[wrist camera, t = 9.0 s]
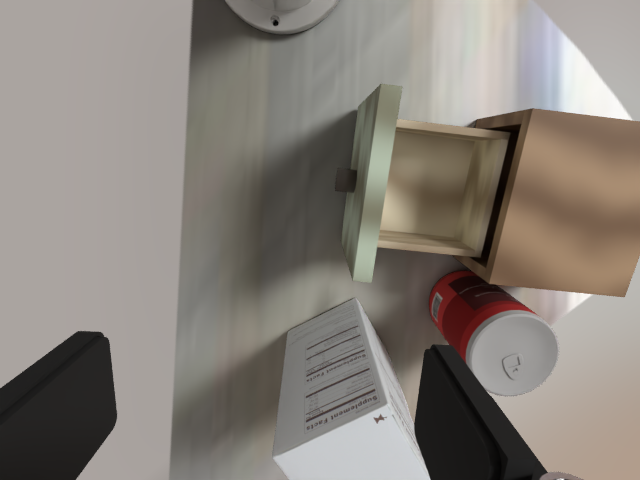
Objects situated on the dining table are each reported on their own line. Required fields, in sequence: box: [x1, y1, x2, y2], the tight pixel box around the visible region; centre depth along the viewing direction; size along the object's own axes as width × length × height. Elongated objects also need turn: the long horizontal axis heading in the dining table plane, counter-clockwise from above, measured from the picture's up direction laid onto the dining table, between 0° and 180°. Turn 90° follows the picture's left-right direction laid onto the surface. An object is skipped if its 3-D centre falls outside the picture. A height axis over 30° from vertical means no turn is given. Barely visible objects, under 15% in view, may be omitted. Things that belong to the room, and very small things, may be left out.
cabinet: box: [452, 108, 640, 297], centre depth 32 cm, size 14×12×9 cm
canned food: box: [429, 271, 559, 396], centre depth 34 cm, size 8×8×11 cm
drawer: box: [335, 84, 510, 283], centre depth 29 cm, size 14×14×12 cm
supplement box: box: [272, 298, 431, 480], centre depth 32 cm, size 10×9×17 cm
